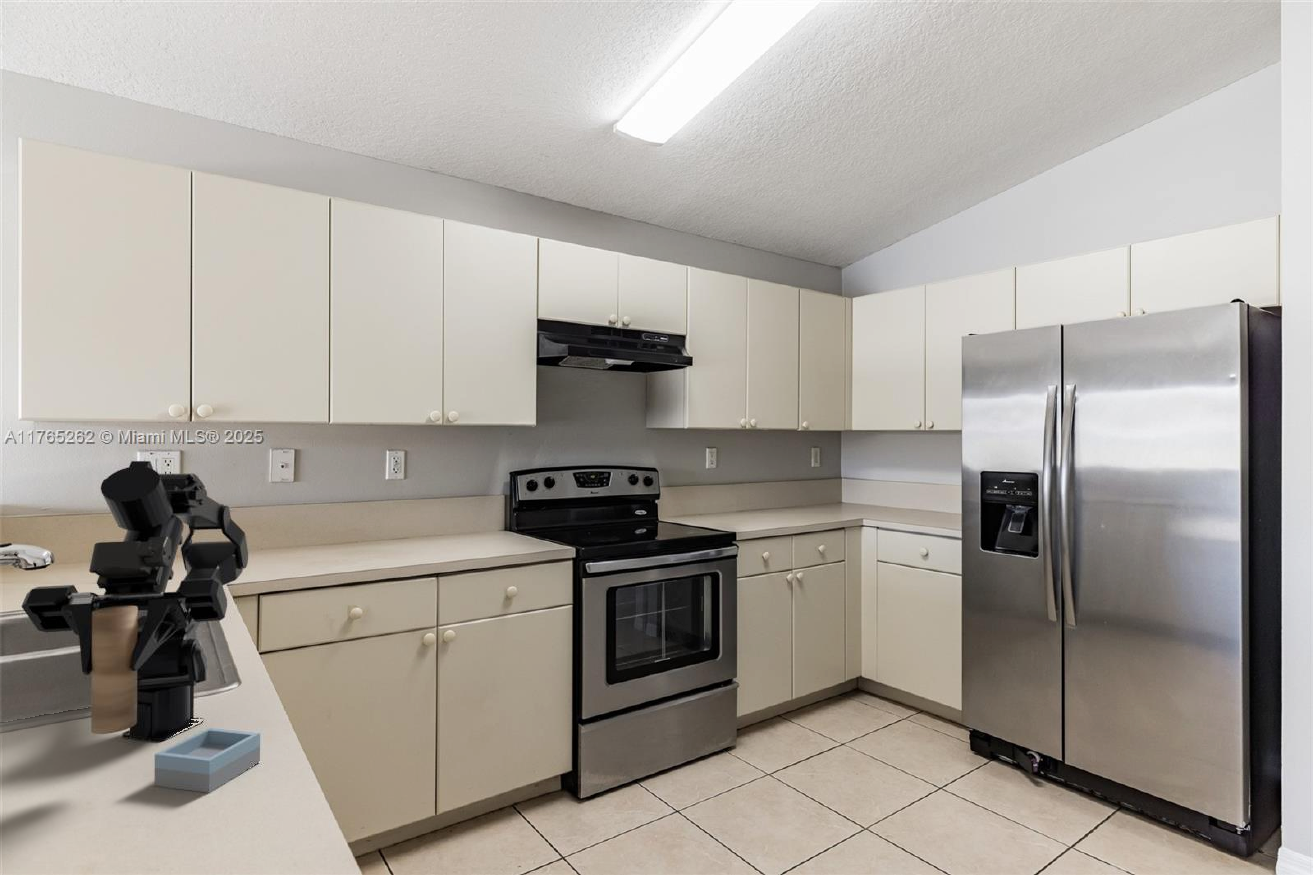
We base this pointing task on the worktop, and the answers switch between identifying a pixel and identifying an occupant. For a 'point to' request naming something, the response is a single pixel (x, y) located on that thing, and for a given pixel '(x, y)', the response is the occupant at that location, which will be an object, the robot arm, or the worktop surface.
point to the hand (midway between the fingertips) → (109, 671)
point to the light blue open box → (207, 759)
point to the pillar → (113, 669)
